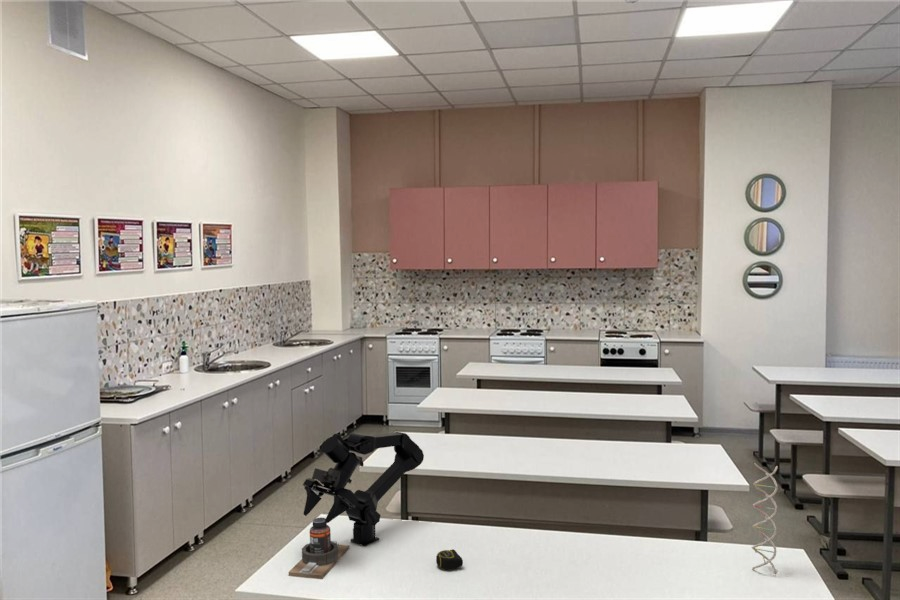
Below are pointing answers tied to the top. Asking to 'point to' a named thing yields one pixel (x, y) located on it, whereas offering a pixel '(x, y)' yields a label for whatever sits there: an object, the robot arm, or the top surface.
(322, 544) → the supplement bottle
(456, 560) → the tape measure
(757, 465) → the dna model
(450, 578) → the top surface
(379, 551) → the top surface
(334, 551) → the clip holder
